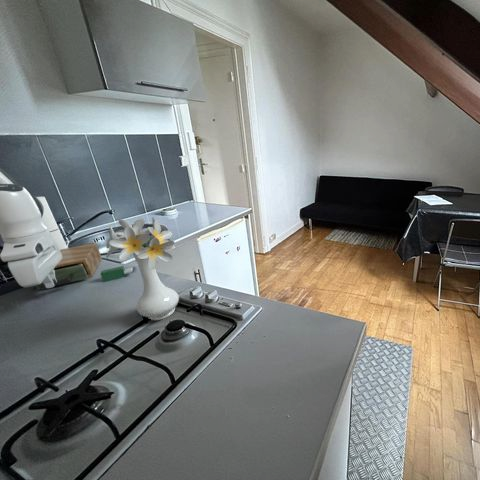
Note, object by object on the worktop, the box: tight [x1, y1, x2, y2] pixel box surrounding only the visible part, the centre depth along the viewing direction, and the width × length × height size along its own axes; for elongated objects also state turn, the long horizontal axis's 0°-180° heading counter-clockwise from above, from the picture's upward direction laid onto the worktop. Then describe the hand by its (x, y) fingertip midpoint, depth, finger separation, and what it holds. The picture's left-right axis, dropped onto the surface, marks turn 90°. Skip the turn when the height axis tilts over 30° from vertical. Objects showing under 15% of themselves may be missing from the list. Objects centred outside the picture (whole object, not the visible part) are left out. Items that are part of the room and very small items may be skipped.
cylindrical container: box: [35, 196, 69, 250], centre depth 99 cm, size 7×7×25 cm
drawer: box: [34, 262, 89, 291], centre depth 88 cm, size 21×12×5 cm, turn 30°
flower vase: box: [105, 217, 180, 321], centre depth 63 cm, size 13×18×25 cm
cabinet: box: [55, 242, 103, 278], centre depth 92 cm, size 18×14×7 cm
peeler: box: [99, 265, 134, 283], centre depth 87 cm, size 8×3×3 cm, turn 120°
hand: (52, 285), depth 78 cm, fingers closed
